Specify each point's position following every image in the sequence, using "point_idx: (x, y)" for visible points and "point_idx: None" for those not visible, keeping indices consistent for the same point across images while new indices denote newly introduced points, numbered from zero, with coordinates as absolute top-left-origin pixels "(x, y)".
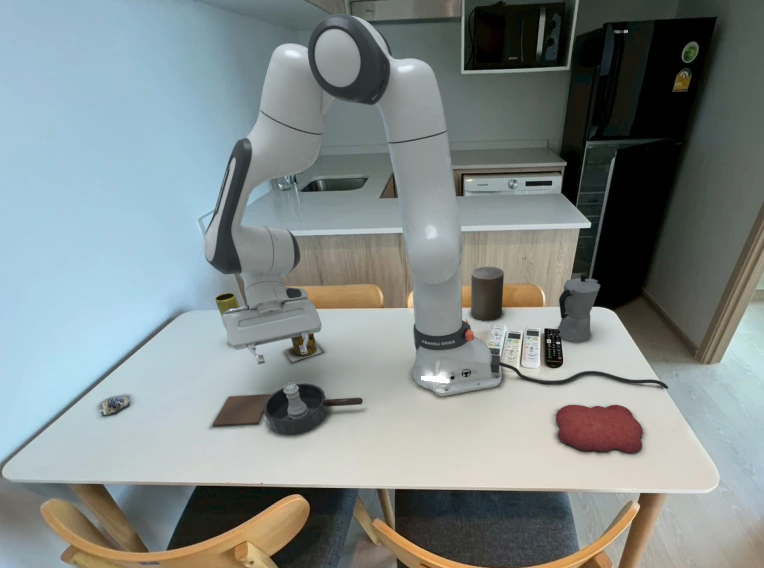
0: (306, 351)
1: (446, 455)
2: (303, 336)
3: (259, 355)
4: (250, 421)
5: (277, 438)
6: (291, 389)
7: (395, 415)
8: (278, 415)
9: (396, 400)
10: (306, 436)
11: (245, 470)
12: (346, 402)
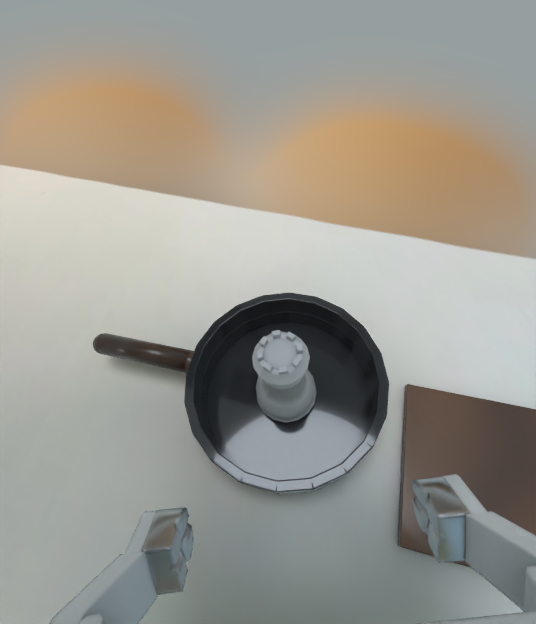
0: (150, 511)
1: (42, 212)
2: (90, 621)
3: (456, 509)
4: (431, 393)
5: None
6: (275, 331)
7: (58, 322)
8: (347, 403)
9: (24, 375)
10: None
11: (393, 248)
12: (137, 340)
